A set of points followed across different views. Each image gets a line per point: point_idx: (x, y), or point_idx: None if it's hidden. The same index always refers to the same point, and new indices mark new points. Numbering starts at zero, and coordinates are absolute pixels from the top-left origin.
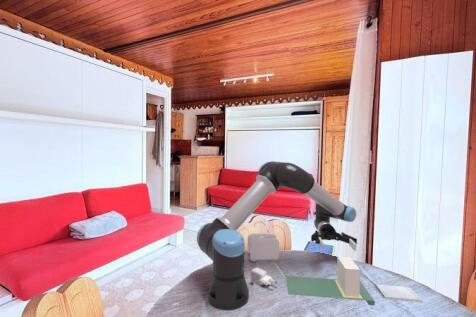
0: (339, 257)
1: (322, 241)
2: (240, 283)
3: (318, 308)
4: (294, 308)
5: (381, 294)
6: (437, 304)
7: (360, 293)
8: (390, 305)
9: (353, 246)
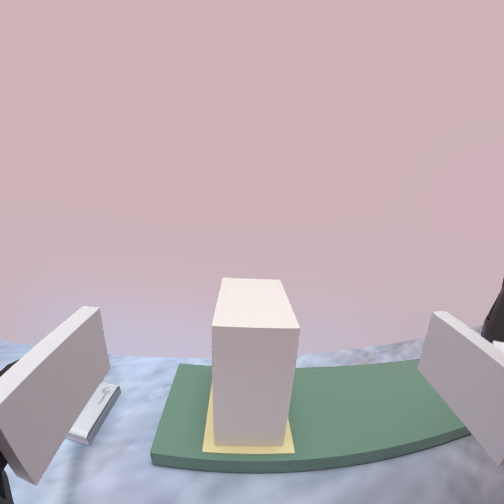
0: (287, 323)
1: (446, 321)
2: (500, 295)
3: (350, 357)
4: (401, 349)
5: (111, 407)
6: (5, 357)
7: (206, 388)
8: (130, 372)
9: (92, 354)
